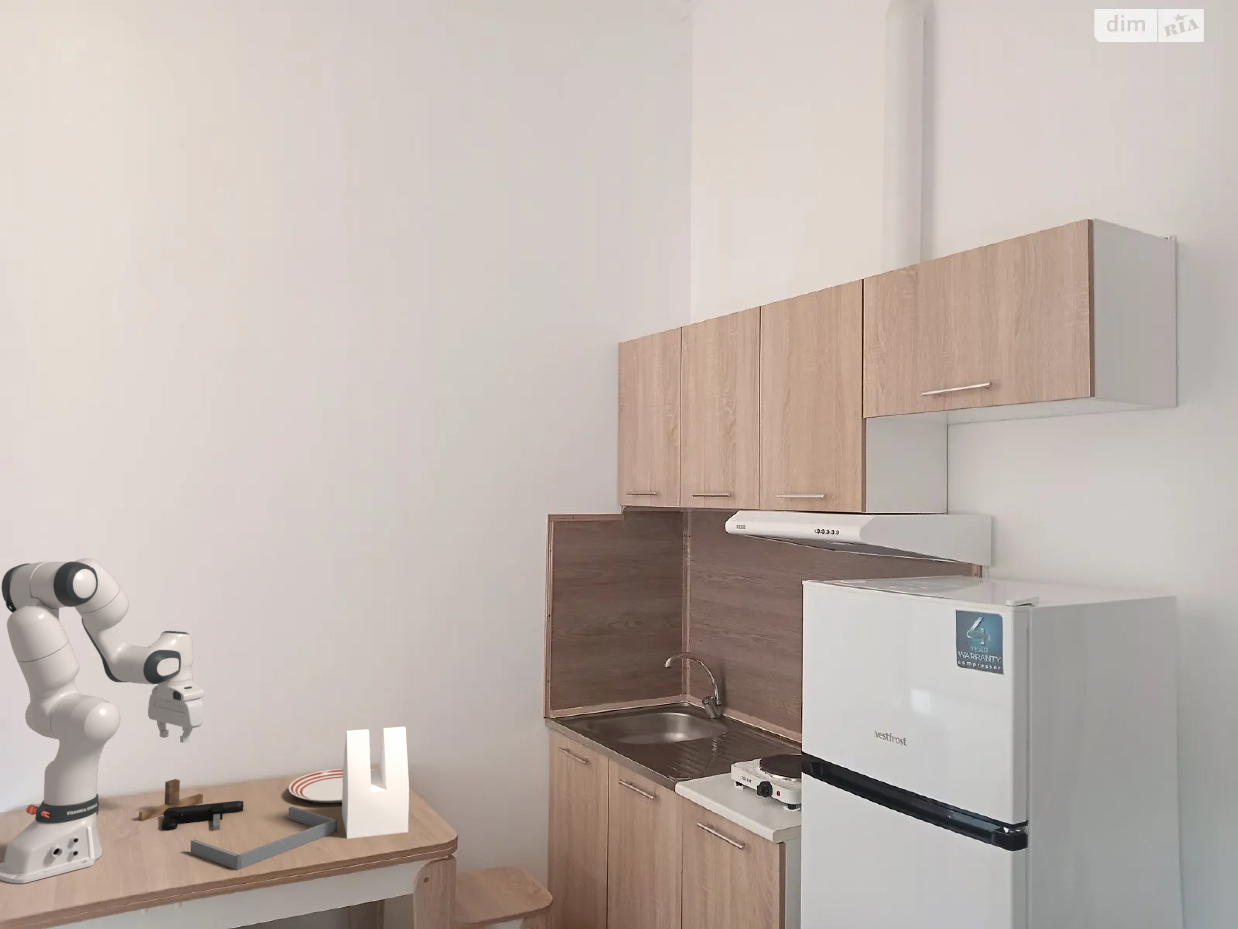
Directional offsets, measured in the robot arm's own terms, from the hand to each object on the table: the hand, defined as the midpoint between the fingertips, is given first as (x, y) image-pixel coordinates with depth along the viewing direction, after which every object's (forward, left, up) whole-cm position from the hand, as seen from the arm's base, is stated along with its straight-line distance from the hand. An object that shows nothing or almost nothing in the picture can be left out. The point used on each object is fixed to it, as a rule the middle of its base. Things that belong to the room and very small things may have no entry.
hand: (174, 739), depth 261 cm
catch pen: (0, -40, -20) cm, 44 cm away
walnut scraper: (0, 0, -20) cm, 20 cm away
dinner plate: (+36, -25, -20) cm, 48 cm away
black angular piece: (0, -14, -20) cm, 25 cm away
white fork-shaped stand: (+25, -52, -20) cm, 61 cm away
